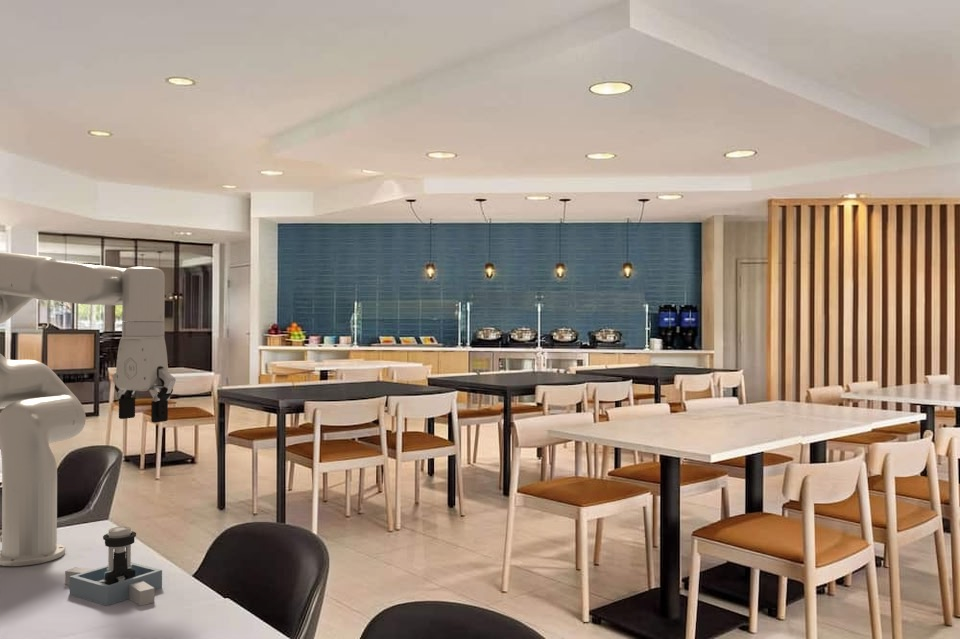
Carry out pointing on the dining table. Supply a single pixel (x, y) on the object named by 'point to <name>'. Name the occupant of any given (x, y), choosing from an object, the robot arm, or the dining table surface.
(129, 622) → the dining table surface
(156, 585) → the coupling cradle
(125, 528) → the push button
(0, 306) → the robot arm
